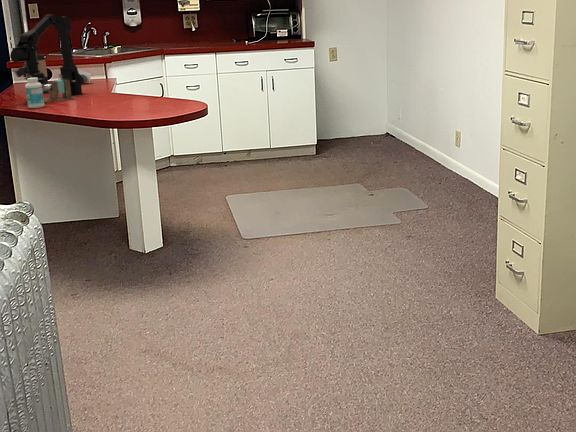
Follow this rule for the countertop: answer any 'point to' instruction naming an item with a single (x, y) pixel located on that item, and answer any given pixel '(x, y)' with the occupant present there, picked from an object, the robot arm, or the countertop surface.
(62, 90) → the collar
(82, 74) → the sculpture
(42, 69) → the travel mug
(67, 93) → the bearing stand
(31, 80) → the pill bottle
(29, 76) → the robot arm
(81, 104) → the countertop surface
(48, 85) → the shaft
